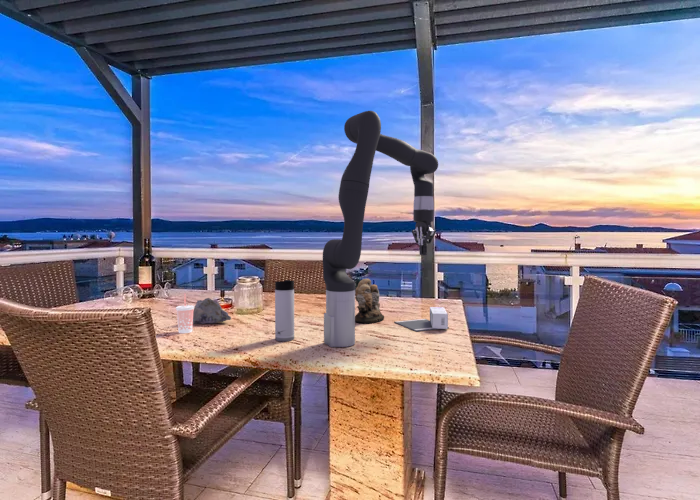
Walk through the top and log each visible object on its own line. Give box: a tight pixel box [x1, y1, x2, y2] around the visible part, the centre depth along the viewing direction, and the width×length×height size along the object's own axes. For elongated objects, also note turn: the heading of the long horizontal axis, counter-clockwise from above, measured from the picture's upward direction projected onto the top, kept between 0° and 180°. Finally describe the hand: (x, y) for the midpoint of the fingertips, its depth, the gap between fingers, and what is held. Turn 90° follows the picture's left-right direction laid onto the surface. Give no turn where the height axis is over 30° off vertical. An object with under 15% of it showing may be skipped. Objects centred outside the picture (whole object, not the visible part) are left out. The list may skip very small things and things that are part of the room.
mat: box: [394, 318, 450, 333], centre depth 157 cm, size 14×16×1 cm
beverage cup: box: [175, 292, 195, 334], centre depth 146 cm, size 6×6×14 cm
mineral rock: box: [193, 297, 232, 325], centre depth 159 cm, size 13×11×10 cm
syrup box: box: [429, 306, 449, 330], centre depth 156 cm, size 6×6×14 cm
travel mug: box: [274, 279, 295, 343], centre depth 136 cm, size 6×7×20 cm
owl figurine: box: [355, 278, 385, 325], centre depth 167 cm, size 18×12×17 cm, turn 159°
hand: (423, 255), depth 155 cm, fingers closed
